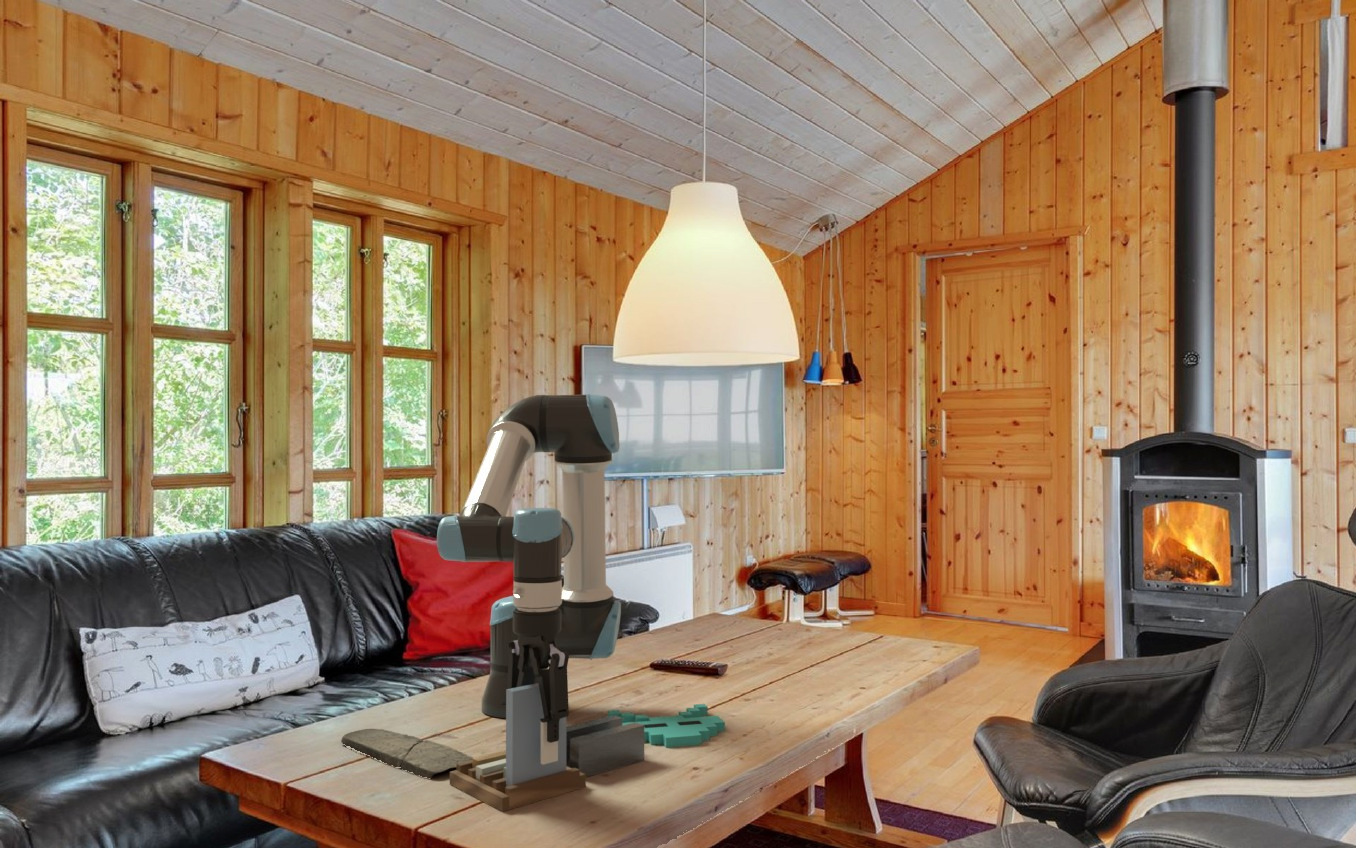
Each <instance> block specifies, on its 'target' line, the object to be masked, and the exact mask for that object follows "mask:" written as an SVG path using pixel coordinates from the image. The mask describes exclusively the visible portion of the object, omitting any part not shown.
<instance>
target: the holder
mask: <svg viewBox="0 0 1356 848" xmlns="http://www.w3.org/2000/svg"><path fill="white" fill-rule="evenodd" d="M639 762H645V742H644V725H642V724H639V723H636V722H635V723H631V724H627V725H623V726H622V718H621V717H618V716H615V715H613V716H609V717H608V716H606V717H601V718H597V719H593V720H592V719H591V720H589V721H584V722H581V723H576V724H572V725H566V766H567V767H569V768H572V769H573V768H577V769H579V770H580V772H581V773H584V774H586V778H589V777H591V776H595V775H599V774H602V773H605V772H608V771H612V770H615V769H620V768H623V767H626V766H630V765H634V764H637V763H639Z"/></svg>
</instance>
